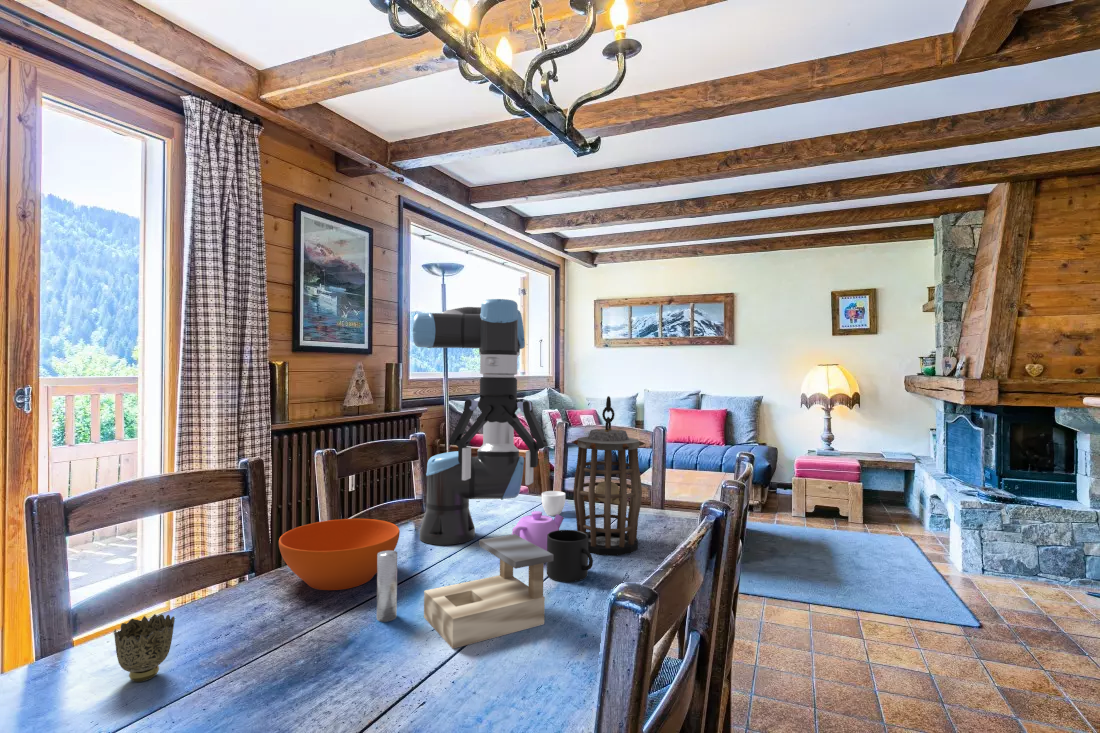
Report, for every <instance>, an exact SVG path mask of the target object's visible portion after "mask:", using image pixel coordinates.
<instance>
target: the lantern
mask: <svg viewBox="0 0 1100 733" xmlns="http://www.w3.org/2000/svg"><path fill="white" fill-rule="evenodd" d="M605 402H606V403H605V407H604V408H603V410H602V414H601V415H602V419H603V420H604V422H605V428H596V429H590V431H589V433H588V436H581V437H577V439H575V440H572V441H571V443H572V444H575V445H577V448H578V450H577V460H576V461H577V462H576V468H575V473H574V482H573V490H572V491H573V504H574V511H575V518H576V531H581V532H584V533H586V534H587V535H588V551H589V552H590V553H591V555H592V554H593V555H598V556H614V557H615V556H616V557H617V556H623V555H629V554H632V553H634V552H635V551H638V550H639V541H638V538H637V537H638V525H639V516H640V512H641V506H642V499H643V498H642V497H643V490H642V479H641V471H640V466H639V464H640V462H639V450H638V449H640V447H641V446H643V445H646V443H645V442H642V440H639V439H638V438H634V437H629V436H628V433H627V431H626V430H624V429H616V428H615V429H613V428H612V422H613V420H614V419H615V410H614V409H613V408H612V401H611V397H610V395H608V396H606V401H605ZM606 412H607V413H610V412H611V417H609V416H607V417H606V416H605V415H606ZM588 450H591V451H590V452H591V453H590V461H587V458H588V457H587V455H588ZM598 451H604V458H603V460H602V461H599V460H598ZM613 451H617V461H612V460H613V459H612V458H613V457H612V456H613ZM626 451H627V452H626ZM627 453H628V455H627ZM627 456H628V457H627ZM627 458H628V463H627ZM599 465H604V466H603V467H604V469H598V466H599ZM587 466H590V468H588V467H587ZM612 466H617V468H618V469H617V470H612ZM586 473H589V474H590V475H589V481H588V482H585V480H586V479H585V477H586ZM597 474H598V475H604V481H599V482H598V481H597V482H596V480H597ZM627 474H629V475H630V476H629V477H630V484H627V483H628V482H627V481H628V479H627ZM612 475H618V477H619V478H618V480H619V482H613V481H612ZM587 487H588V491H584V490H585V488H587ZM628 489H630V492H629V493H628ZM585 497H588V509H589V510H588V511H589V514H588V515H586V507H585V506H586V505H585V503H586V502H585ZM596 499H597V500H599V501H600V502H602V503H603V513H599V514H596ZM628 499H630V500H629V506H628ZM611 504H613V505H617V514H612V509H611V508H612V505H611ZM628 508H629V509H628ZM627 510H628V511H627ZM627 512H628V514H627ZM600 518H601V519H602V518H603V528H602V527H597V522H596V520H597V519H600ZM612 519H616V528H612ZM587 520H589V525H587ZM626 521H627V525H626ZM587 530H588V531H587Z"/></svg>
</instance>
